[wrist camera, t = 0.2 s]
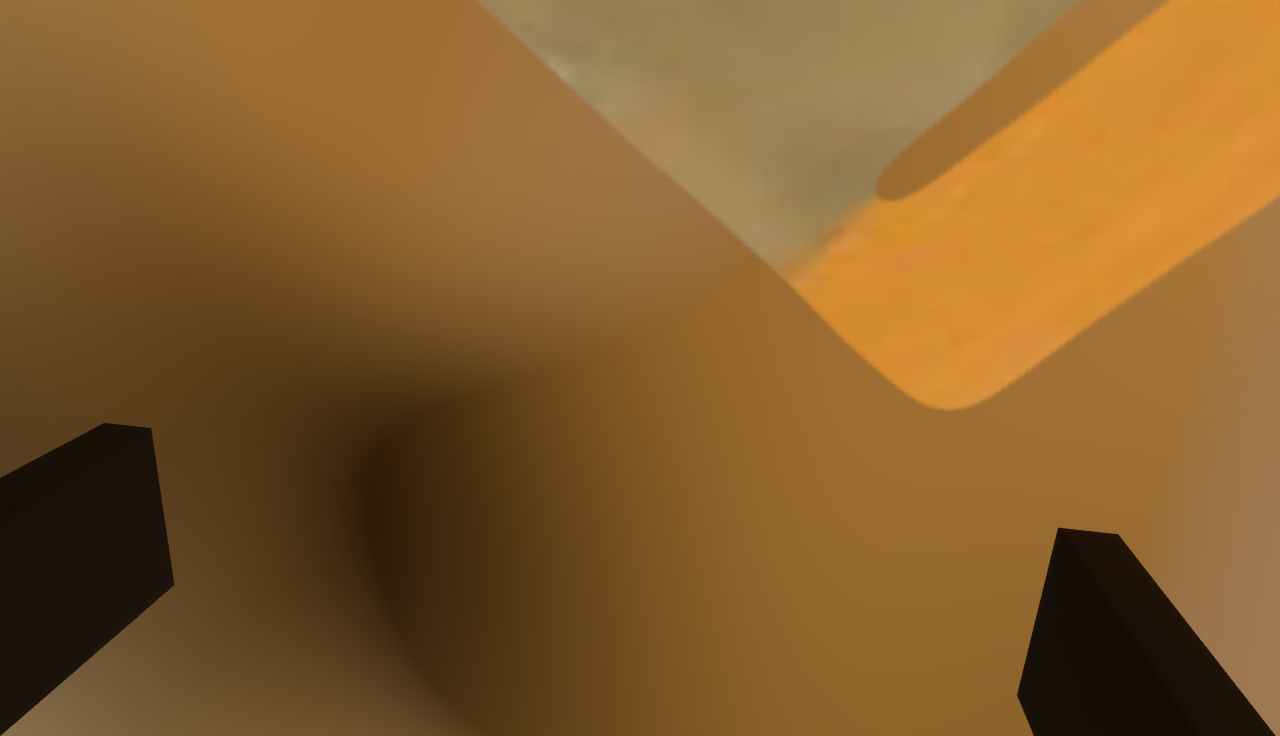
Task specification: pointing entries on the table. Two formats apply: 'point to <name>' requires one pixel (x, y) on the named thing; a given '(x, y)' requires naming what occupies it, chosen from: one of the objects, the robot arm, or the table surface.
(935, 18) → the table surface
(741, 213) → the table surface
